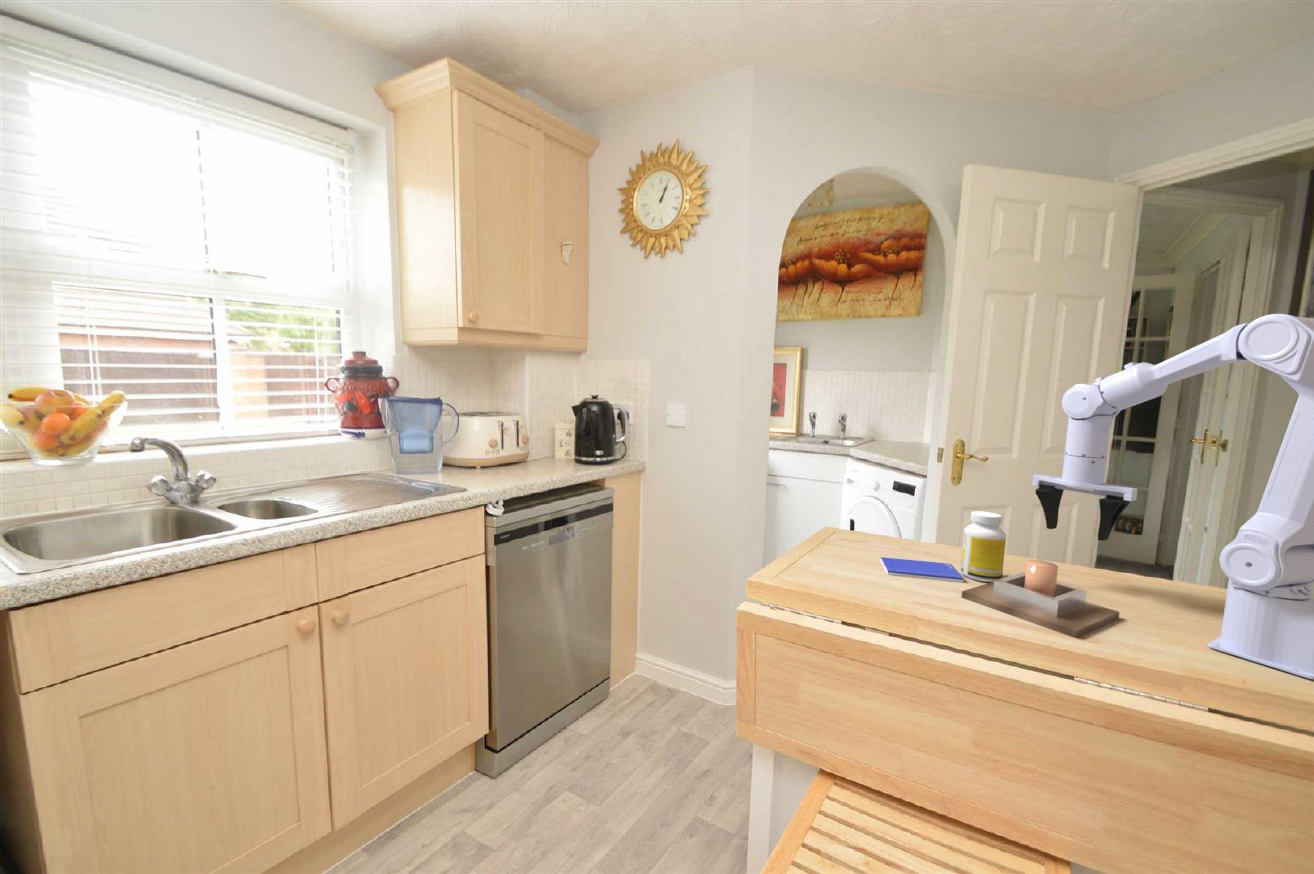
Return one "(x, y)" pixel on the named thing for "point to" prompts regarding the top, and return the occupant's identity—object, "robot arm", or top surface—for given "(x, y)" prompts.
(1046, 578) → the terracotta peg
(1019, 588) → the steel collar
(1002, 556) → the pill bottle
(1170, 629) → the top surface
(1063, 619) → the mount board
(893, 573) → the hard drive
